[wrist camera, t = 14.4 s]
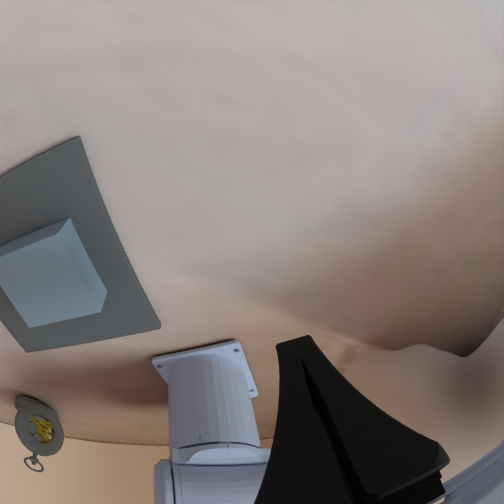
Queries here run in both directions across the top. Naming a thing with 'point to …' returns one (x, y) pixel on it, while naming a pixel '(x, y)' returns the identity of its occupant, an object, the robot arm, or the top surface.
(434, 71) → the top surface
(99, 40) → the top surface
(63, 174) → the mat
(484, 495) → the robot arm
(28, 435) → the pocket watch
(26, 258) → the blue-grey rectangular block
